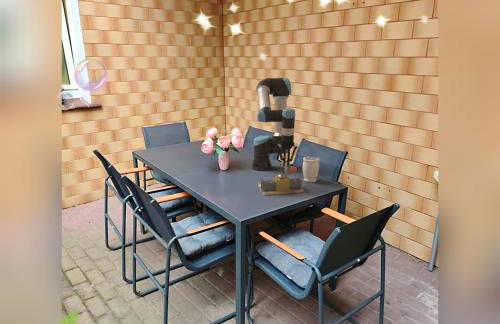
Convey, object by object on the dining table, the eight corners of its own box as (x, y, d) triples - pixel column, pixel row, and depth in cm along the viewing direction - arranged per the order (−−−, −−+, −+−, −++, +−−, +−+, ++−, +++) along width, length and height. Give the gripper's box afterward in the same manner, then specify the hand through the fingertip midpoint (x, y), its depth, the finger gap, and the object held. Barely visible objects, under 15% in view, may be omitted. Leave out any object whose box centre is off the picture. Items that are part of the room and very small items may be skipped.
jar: (306, 183, 227) (307, 161, 223) (299, 178, 236) (300, 157, 232) (321, 182, 230) (322, 160, 225) (314, 177, 239) (315, 155, 235)
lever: (282, 178, 210) (282, 174, 209) (277, 177, 212) (277, 173, 211) (297, 171, 223) (297, 167, 223) (292, 170, 226) (292, 166, 225)
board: (257, 184, 225) (257, 182, 225) (295, 182, 229) (295, 180, 229) (263, 195, 208) (263, 193, 208) (304, 192, 212) (304, 190, 212)
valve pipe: (260, 189, 216) (260, 176, 214) (297, 186, 221) (298, 174, 218) (263, 194, 209) (263, 181, 207) (301, 191, 213) (302, 178, 211)
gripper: (276, 134, 212) (274, 172, 218) (297, 136, 209) (295, 174, 215) (278, 132, 219) (276, 168, 225) (299, 134, 216) (296, 170, 222)
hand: (285, 171), depth 220 cm, fingers closed
